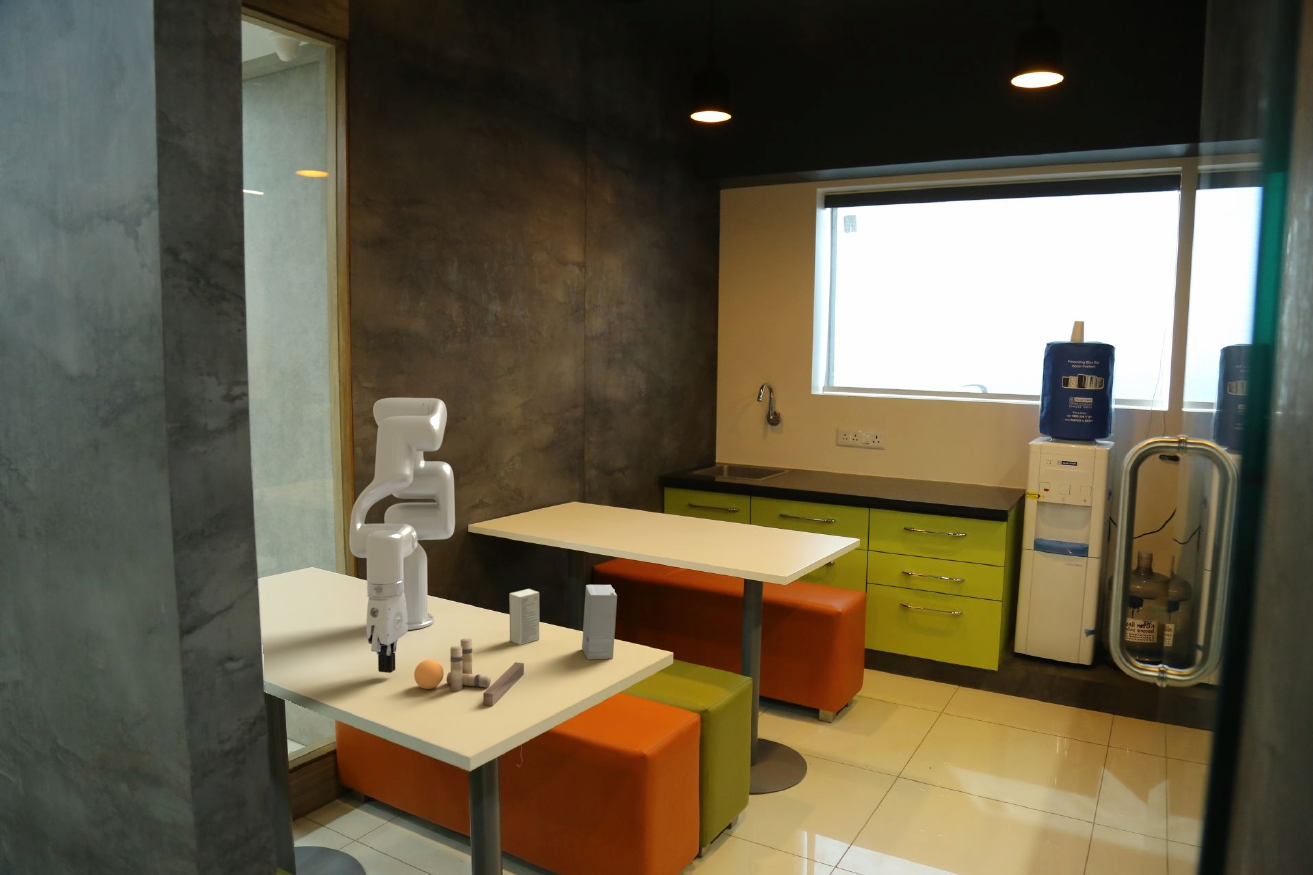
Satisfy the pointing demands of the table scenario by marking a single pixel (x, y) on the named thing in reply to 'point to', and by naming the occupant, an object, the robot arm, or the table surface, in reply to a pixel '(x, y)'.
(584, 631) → the skincare box
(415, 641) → the table surface
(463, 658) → the back pin left
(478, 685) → the front pin
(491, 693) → the back wall
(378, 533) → the robot arm
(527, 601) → the skincare box
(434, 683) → the ball
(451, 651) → the back pin right
